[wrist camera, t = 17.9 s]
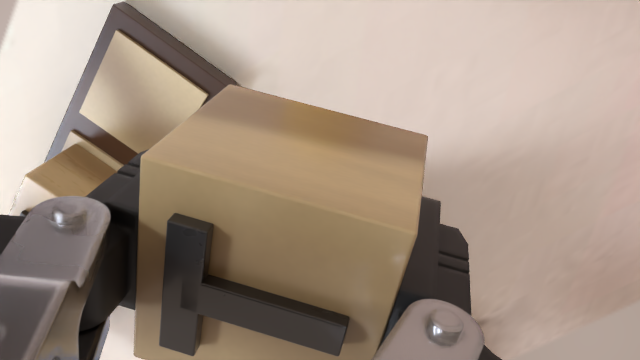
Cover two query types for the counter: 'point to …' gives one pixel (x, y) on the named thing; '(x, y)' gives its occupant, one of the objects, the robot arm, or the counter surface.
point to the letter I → (61, 179)
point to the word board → (134, 90)
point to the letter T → (273, 232)
